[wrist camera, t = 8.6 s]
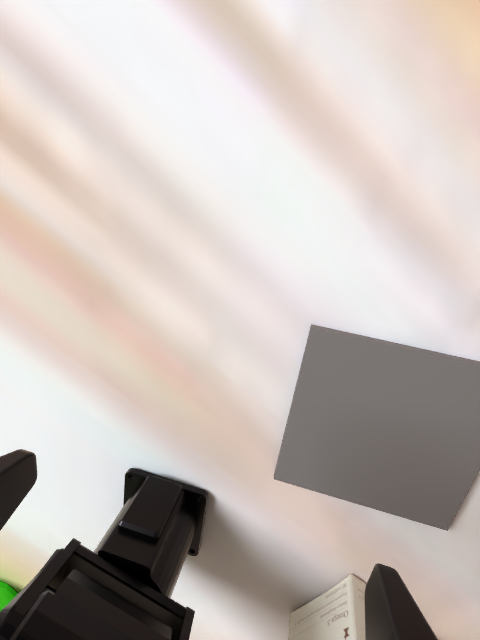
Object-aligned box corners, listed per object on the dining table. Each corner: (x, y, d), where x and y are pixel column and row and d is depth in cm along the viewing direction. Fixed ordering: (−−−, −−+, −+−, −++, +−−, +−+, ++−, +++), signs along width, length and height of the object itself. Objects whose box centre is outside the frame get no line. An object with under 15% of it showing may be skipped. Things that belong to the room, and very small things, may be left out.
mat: (444, 522, 21) (447, 530, 21) (274, 472, 23) (273, 478, 22) (521, 370, 17) (527, 376, 17) (311, 324, 19) (310, 327, 19)
